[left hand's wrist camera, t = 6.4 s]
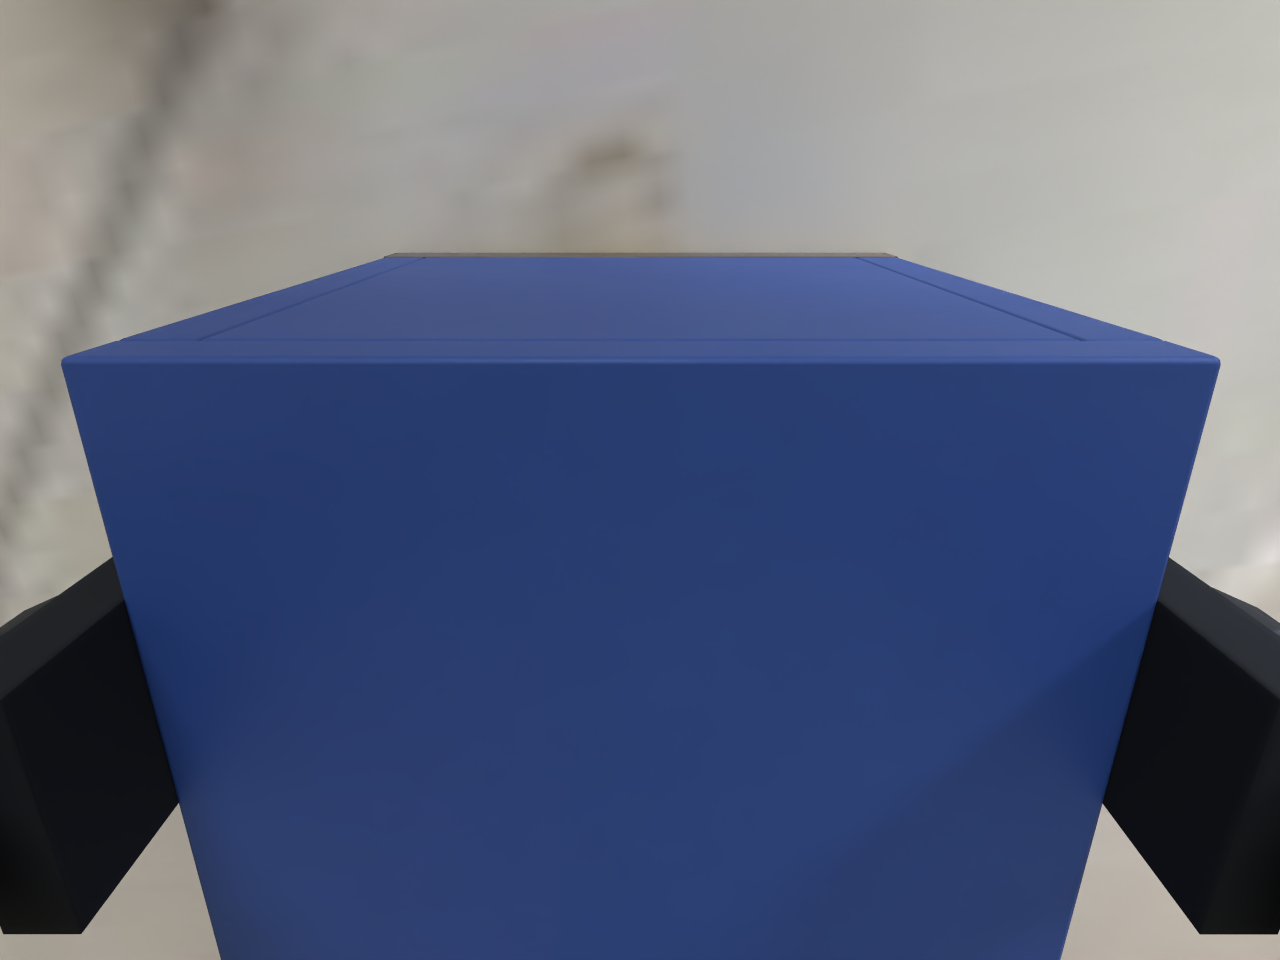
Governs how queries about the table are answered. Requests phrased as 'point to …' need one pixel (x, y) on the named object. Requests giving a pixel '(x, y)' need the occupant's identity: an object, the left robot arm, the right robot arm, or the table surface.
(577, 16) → the table surface
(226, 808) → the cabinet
